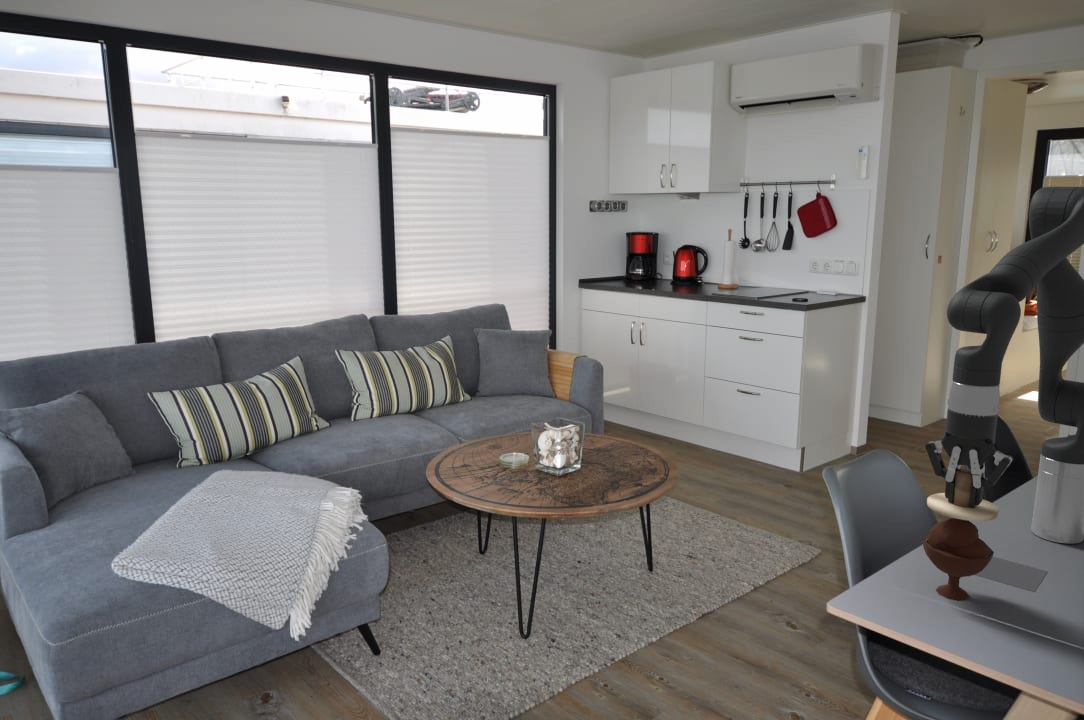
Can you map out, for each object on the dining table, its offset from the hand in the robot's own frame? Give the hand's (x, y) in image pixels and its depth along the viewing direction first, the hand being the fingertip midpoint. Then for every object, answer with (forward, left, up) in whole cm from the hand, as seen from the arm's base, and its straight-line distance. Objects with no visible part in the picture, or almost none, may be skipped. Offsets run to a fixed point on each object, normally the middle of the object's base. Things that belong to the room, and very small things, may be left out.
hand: (962, 503), depth 133 cm
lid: (0, 0, -1) cm, 1 cm away
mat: (-16, +5, -17) cm, 24 cm away
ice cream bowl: (0, 0, -18) cm, 18 cm away
